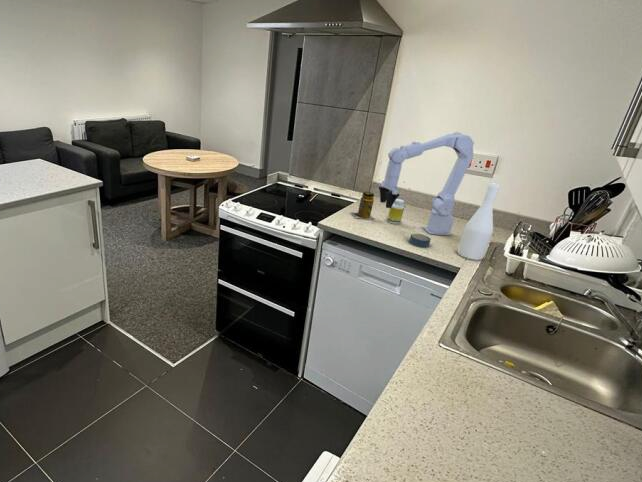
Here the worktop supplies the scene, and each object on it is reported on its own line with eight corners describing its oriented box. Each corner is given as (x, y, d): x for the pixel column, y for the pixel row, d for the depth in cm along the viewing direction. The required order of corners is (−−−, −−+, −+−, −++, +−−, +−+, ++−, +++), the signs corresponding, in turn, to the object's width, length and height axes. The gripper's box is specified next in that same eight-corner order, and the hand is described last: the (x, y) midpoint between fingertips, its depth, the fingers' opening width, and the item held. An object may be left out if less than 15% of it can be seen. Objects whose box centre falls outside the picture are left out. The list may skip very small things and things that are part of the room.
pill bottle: (402, 224, 185) (407, 202, 181) (389, 223, 185) (394, 201, 181) (397, 220, 191) (403, 198, 187) (384, 219, 191) (390, 197, 187)
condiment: (373, 219, 190) (378, 195, 185) (356, 218, 188) (361, 194, 184) (366, 213, 196) (371, 190, 192) (350, 213, 195) (355, 190, 190)
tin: (424, 240, 169) (425, 234, 168) (432, 248, 162) (434, 241, 161) (406, 239, 169) (408, 232, 168) (413, 246, 162) (415, 240, 160)
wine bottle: (467, 261, 152) (493, 186, 140) (451, 250, 161) (474, 179, 149) (488, 260, 154) (515, 187, 142) (471, 250, 163) (495, 180, 151)
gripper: (378, 171, 179) (371, 199, 185) (389, 179, 166) (382, 209, 171) (393, 172, 179) (386, 200, 185) (405, 180, 166) (397, 210, 172)
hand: (385, 205), depth 178 cm, fingers open, 7 cm apart
